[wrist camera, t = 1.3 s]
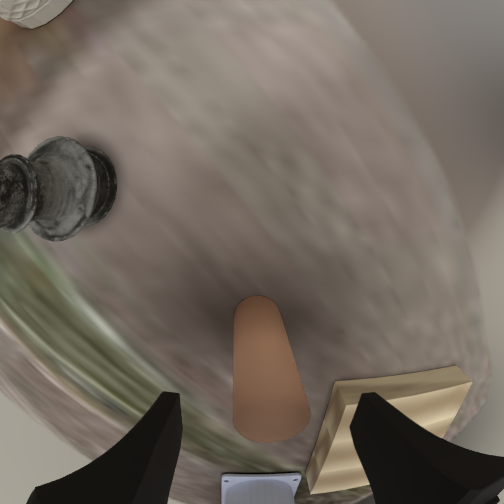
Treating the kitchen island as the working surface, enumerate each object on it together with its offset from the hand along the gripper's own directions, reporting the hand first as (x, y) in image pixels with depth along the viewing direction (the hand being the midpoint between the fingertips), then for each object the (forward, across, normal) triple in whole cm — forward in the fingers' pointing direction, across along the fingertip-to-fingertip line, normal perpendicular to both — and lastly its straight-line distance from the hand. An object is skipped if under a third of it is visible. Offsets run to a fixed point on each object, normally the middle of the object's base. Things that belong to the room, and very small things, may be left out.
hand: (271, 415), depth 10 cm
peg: (+9, 0, 0) cm, 9 cm away
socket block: (+9, -13, +12) cm, 20 cm away
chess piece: (+10, +12, -8) cm, 17 cm away
